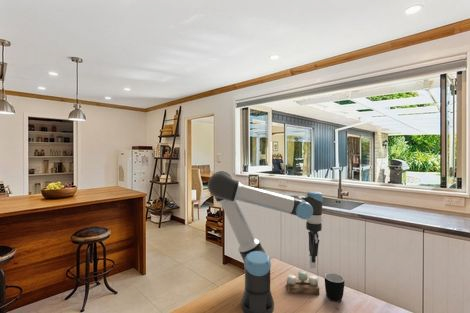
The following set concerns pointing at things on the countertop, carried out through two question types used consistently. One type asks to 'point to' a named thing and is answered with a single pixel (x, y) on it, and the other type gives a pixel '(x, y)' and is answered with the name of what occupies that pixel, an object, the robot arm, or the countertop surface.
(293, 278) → the knob left
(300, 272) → the knob mid
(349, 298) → the countertop surface
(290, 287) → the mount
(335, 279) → the mug
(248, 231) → the robot arm
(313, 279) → the knob right
